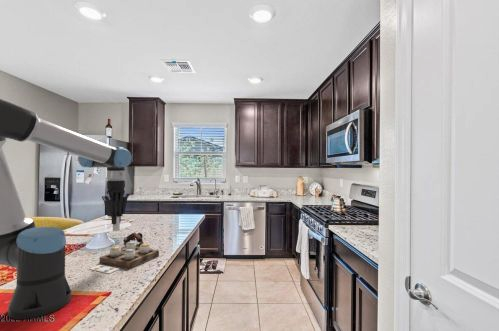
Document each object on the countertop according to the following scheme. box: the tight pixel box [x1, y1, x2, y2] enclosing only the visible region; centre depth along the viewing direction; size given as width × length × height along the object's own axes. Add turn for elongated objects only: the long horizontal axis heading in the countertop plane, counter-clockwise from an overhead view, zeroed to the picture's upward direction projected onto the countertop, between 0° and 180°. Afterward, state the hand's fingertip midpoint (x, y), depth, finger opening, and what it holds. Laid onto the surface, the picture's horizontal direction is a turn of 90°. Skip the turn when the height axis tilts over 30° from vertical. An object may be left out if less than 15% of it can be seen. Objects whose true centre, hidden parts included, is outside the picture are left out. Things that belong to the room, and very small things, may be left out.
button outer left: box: [125, 240, 137, 250], centre depth 125 cm, size 4×4×4 cm
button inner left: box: [109, 245, 122, 257], centre depth 117 cm, size 4×4×4 cm
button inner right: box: [124, 249, 135, 260], centre depth 114 cm, size 4×4×4 cm
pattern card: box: [88, 264, 120, 275], centre depth 107 cm, size 5×12×1 cm, turn 67°
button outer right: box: [139, 243, 151, 254], centre depth 122 cm, size 4×4×4 cm
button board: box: [99, 246, 160, 269], centre depth 119 cm, size 18×18×2 cm
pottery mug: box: [122, 232, 145, 246], centre depth 141 cm, size 12×10×8 cm
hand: (116, 230), depth 118 cm, fingers closed
